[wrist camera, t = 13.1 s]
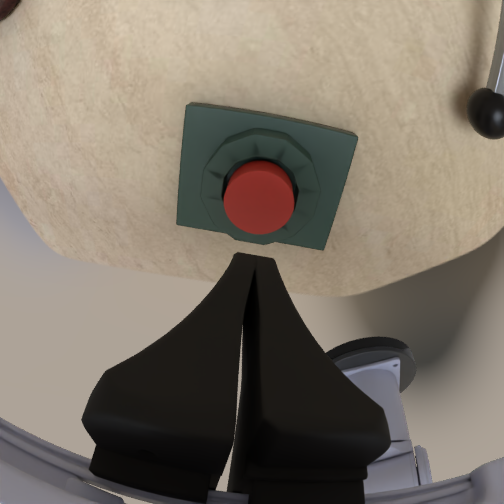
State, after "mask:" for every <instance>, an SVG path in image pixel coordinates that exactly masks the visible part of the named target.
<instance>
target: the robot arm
mask: <svg viewBox="0 0 504 504" xmlns="http://www.w3.org/2000/svg"><path fill="white" fill-rule="evenodd" d="M242 326H243V339H242V342H243V343H242V381H241V392H240V393H241V394H240V400H239V408H238V416H237V424H236V410H237V391H238V374H239V360H240V346H241V335H242ZM399 385H400V359H399V357H394V358H390V359H386V360H383V361H379V362H375V363H371V364H367V365H363V366H359V367H354V368H350V369H345V370H340V369H339V368H338V367H337V366H336V365H335V363H334V362H333V361H332V360H331V359H330V358H329V357H328V355H327V354H326V353H325V352H324V351H323V349H322V348H321V347H320V345H319V344H318V343H317V341H316V340H315V338H314V337H313V336H312V334H311V333H310V331H309V330H308V328H307V327H306V325H305V324H304V322H303V320H302V318H301V317H300V315H299V313H298V311H297V310H296V308H295V306H294V304H293V302H292V300H291V298H290V296H289V294H288V292H287V290H286V288H285V285H284V283H283V281H282V278H281V276H280V273H279V270H278V268H277V265H276V262H275V260H274V259H273V258H268V257H263V256H257V255H251V254H245V253H240V252H237V253H236V254H234V256H233V259H232V261H231V263H230V265H229V266H228V268H227V269H226V271H225V273H224V274H223V276H222V277H221V278H220V280H219V281H218V282H217V284H216V285H215V286H214V288H213V289H212V290H211V291H210V293H209V294H208V295H207V296H206V297H205V298H204V299H203V301H202V302H201V303H200V304H199V305H198V306H197V307H196V308H195V309H194V310H193V311H192V312H191V313H190V314H189V315H188V316H187V317H186V318H184V320H183V321H181V322H180V323H179V324H178V325H176V326H175V327H174V328H173V329H172V330H170V331H169V332H168V333H167V334H165V335H164V336H163V337H161V338H160V339H158V340H157V341H155V342H154V343H153V344H151V345H150V346H148V347H147V348H145V349H144V350H142V351H141V352H139V353H138V354H136V355H134V356H132V357H130V358H129V359H127V360H125V361H123V362H121V363H119V364H117V365H116V366H114V367H112V368H110V369H108V370H106V371H105V373H104V374H103V375H102V377H101V378H100V380H99V381H98V383H97V385H96V386H95V388H94V390H93V391H92V393H91V396H90V397H89V400H88V403H87V405H86V408H85V411H84V413H83V416H82V419H81V420H82V423H83V425H84V427H85V429H86V431H87V432H88V433H89V435H90V436H91V438H92V439H93V441H94V442H95V443H96V447H95V451H94V454H93V457H92V460H91V459H89V458H86V457H83V456H81V455H78V454H75V453H73V452H70V451H68V450H66V449H63V448H61V447H58V446H56V445H54V444H52V443H49V442H47V441H45V440H43V439H41V438H38V437H37V436H35V435H32V434H30V433H28V432H26V431H25V430H23V429H20V428H19V427H17V426H15V425H13V424H11V423H9V422H7V421H6V420H4V419H2V418H0V503H1V504H125V503H124V501H123V499H122V498H121V497H118V496H116V495H113V494H110V493H108V492H105V491H103V490H101V489H98V488H96V487H94V486H91V485H89V484H92V485H95V486H97V487H100V488H103V489H106V490H109V491H112V492H115V493H118V494H121V495H125V496H128V497H131V498H135V499H138V500H142V501H146V502H149V503H153V504H504V457H502V458H499V459H496V460H493V461H490V462H488V463H486V464H483V465H481V466H480V467H478V468H476V469H475V470H473V471H472V472H471V473H469V474H466V475H462V476H459V477H455V478H451V479H447V480H443V481H439V482H435V483H432V477H431V471H430V465H429V460H428V456H427V452H426V449H425V448H422V447H421V446H420V445H418V446H415V447H414V448H415V453H416V456H415V458H416V464H417V467H416V464H415V458H414V453H413V447H412V442H411V440H410V437H409V432H408V427H407V423H406V418H405V413H404V409H403V405H402V400H401V396H400V392H399ZM235 425H236V431H235ZM234 434H235V439H234ZM233 442H234V446H233ZM232 446H233V453H232V460H231V467H230V474H229V480H228V487H227V492H223V491H216V487H217V484H218V481H219V479H220V476H222V473H223V471H224V468H225V465H226V463H227V460H228V457H229V455H230V452H231V449H232ZM85 482H86V483H85ZM87 483H89V484H87Z"/></svg>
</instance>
